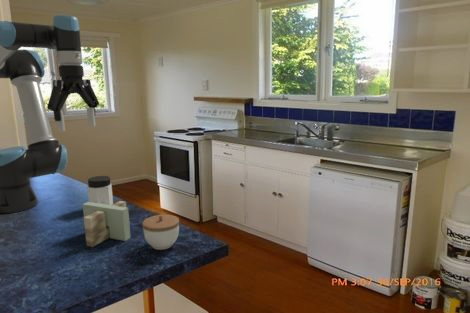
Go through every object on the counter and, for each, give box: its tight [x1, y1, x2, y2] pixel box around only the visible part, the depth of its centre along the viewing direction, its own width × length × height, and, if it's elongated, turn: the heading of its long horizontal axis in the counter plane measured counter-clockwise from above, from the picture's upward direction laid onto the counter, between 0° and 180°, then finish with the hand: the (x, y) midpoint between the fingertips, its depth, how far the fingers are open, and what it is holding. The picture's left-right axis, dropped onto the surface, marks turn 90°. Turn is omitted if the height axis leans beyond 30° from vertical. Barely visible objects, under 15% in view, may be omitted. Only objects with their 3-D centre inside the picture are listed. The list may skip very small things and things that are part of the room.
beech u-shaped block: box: [83, 200, 127, 248], centre depth 116 cm, size 16×2×9 cm, turn 157°
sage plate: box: [82, 201, 131, 242], centre depth 116 cm, size 16×2×10 cm, turn 67°
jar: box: [87, 175, 114, 205], centre depth 141 cm, size 9×8×12 cm
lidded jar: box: [142, 214, 180, 251], centre depth 108 cm, size 11×11×9 cm
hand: (77, 128), depth 126 cm, fingers open, 13 cm apart
